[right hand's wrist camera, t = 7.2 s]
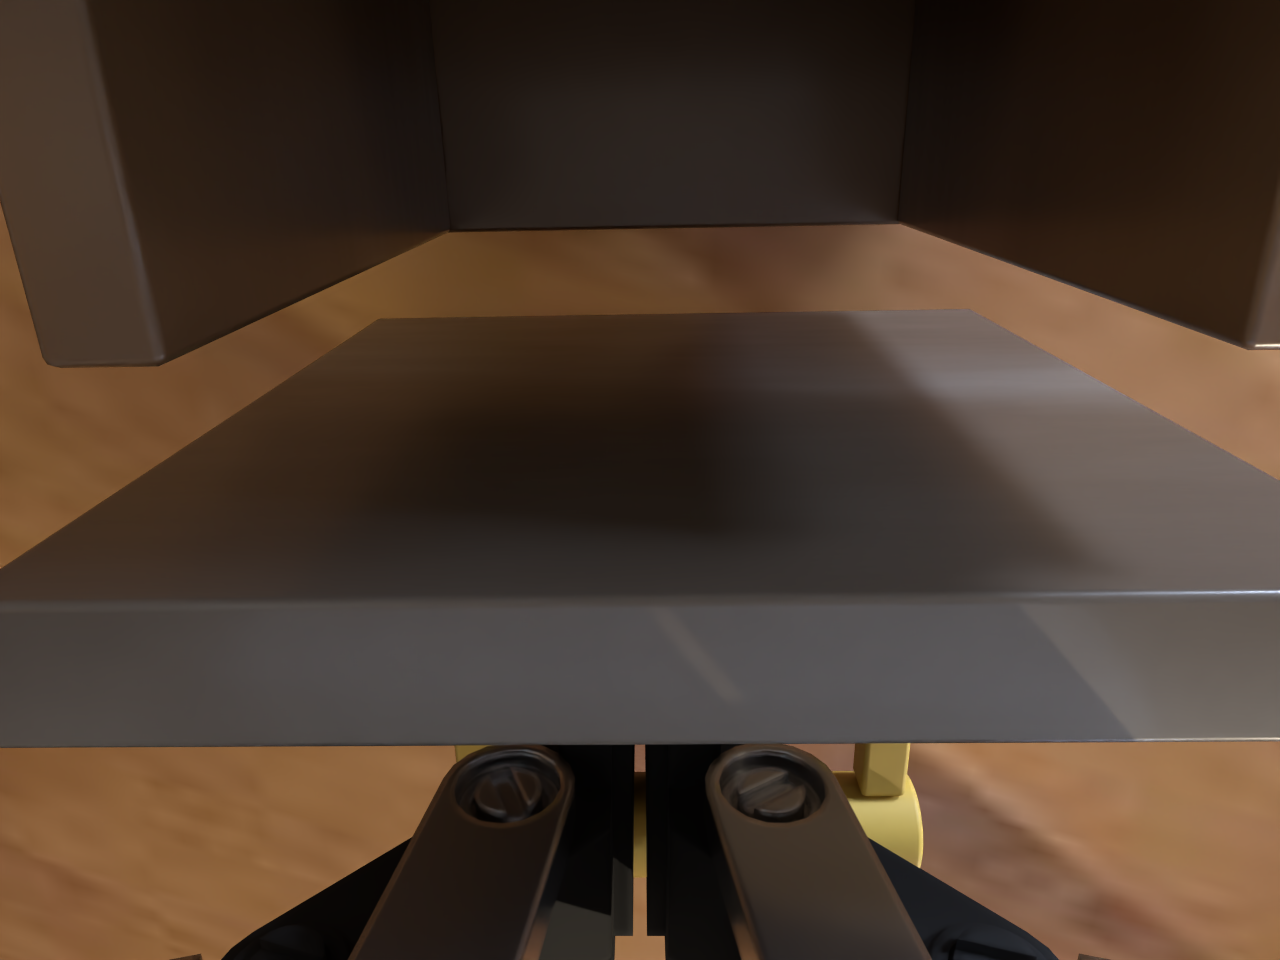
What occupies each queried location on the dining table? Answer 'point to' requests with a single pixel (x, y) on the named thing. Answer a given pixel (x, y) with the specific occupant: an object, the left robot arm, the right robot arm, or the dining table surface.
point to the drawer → (648, 381)
